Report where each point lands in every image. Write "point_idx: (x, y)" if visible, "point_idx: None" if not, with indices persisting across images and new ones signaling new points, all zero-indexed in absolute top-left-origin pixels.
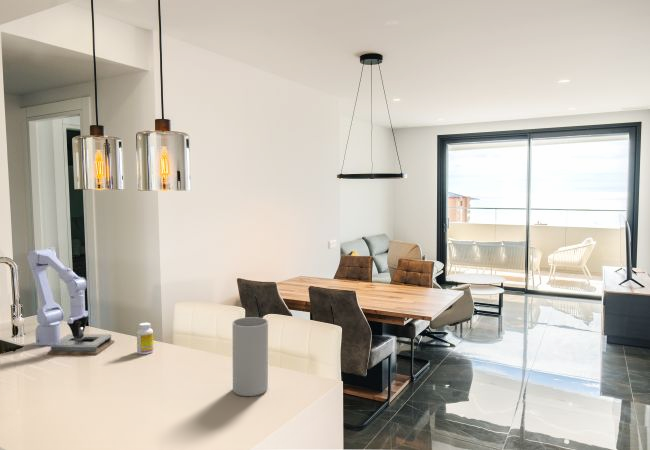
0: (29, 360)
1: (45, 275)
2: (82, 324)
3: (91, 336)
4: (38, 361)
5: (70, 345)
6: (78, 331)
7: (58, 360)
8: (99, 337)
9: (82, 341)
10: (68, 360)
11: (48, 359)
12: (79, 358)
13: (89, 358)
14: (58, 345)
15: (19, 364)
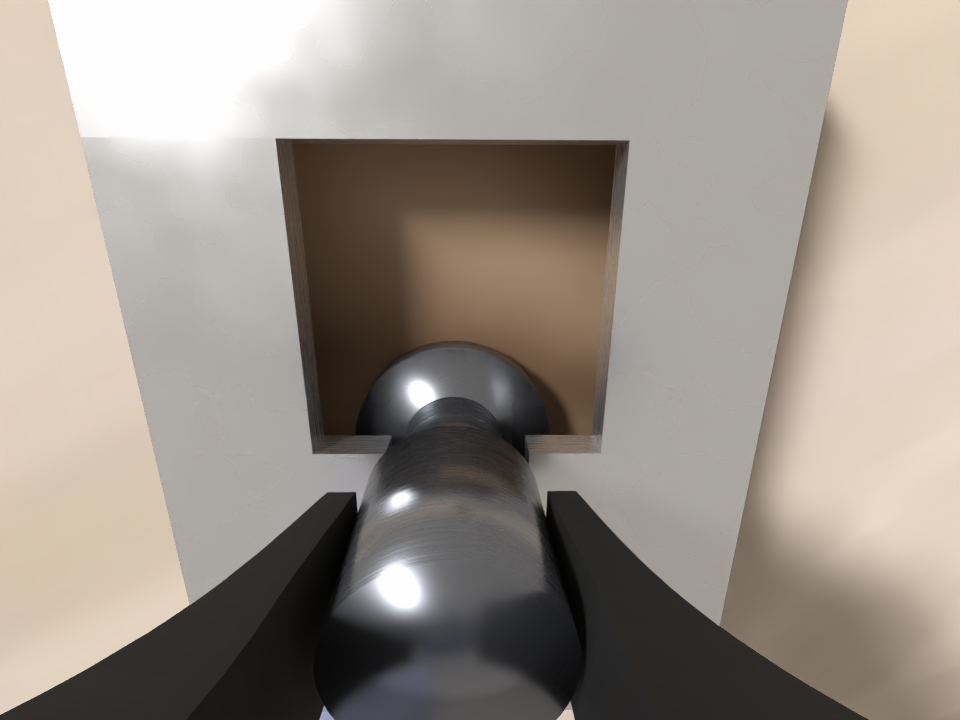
0: (832, 684)
1: None
2: (267, 688)
3: (269, 336)
4: (886, 602)
5: (746, 459)
6: (624, 549)
7: (909, 427)
8: (314, 128)
9: (431, 409)
10: (944, 309)
11: (843, 543)
12: (898, 197)
13: (939, 31)
14: (715, 614)
15: (931, 705)
